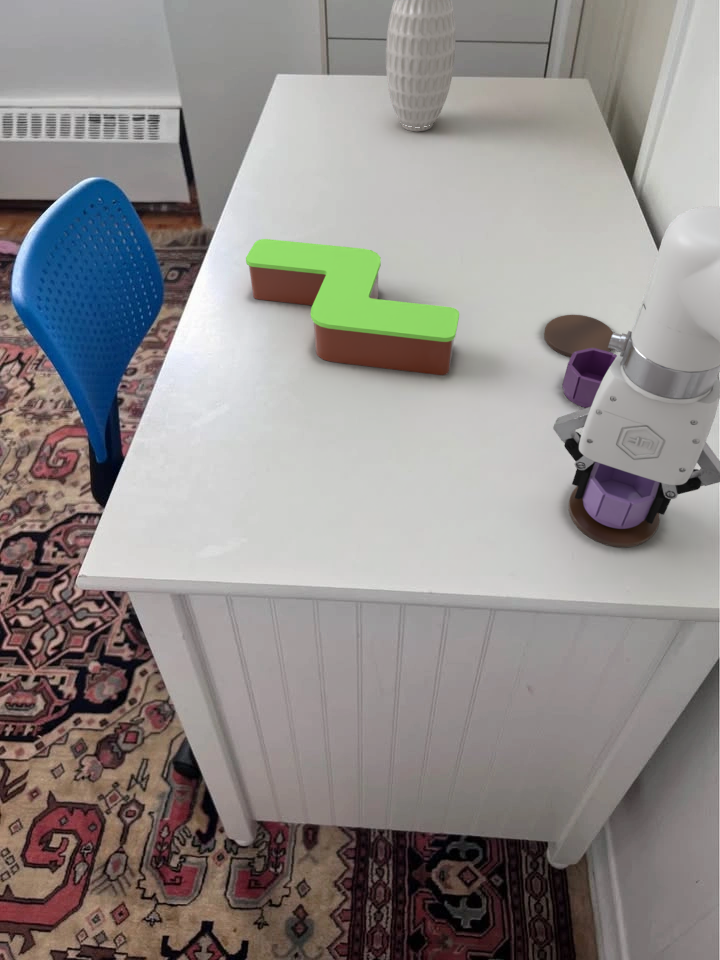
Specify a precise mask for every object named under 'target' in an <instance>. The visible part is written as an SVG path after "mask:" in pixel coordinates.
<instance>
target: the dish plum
mask: <svg viewBox="0 0 720 960" xmlns="http://www.w3.org/2000/svg"><path fill="white" fill-rule="evenodd" d="M617 356H618V354H616V353H614V352H611V351H610V352H608V351H604V350H600V349H597V348H594V349H593V348H588V349H584V350H580V351H575V352H574V353H573V354H572V356H571V357H569V360H568V362H567V364H566V365H567V366H566V369H565V373H564V377H563V381H562V383H561V387H562V391H563V394H564V396H565V397H566V398H567V399H568V400H569V401H570V402H572V403H573V404H575V405H577V406H579V407H582V408H584V409H585V408H588V407H591V406H592V403H593V401H594V398H595V395H596V393H597V391H598V389H599V386H600V384H601V382H602V380H603V378H604V376H605V374H606V372H607V371H608V369H609V367H610V366H611V364H612V363H613V361H614V360H615V358H616V357H617Z"/></svg>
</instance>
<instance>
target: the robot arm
mask: <svg viewBox="0 0 720 960" xmlns="http://www.w3.org/2000/svg"><path fill="white" fill-rule="evenodd" d="M655 257H656V258H655V259H654V260H655V261H654V264H653V266H652V269H651V272H650V276H649V279H648V281H647V285H646V288H645V290H644V293H643V297H642V300H641V302H640V305H639V308H638V312H637V315H636V318H635V321H634V324H633V327H632V329H631V331H630V330H628V332H627V333H624V332H622V334H621V333H617V332H613V331H612V332H613V334H612V337H611V340H610V342H609V346H608V348H612V349H611V350H615V352H617V353H619V354H617V357H616V358H615V360H614V361H613V363H612V364H611V366H610V367H609V369H608V371H607V372H606V374H605V376H604V378H603V380H602V382H601V384H600V386H599V389H598V391H597V393H596V395H595V398H594V401H593V403H592V406H591V407H588V408H585V407H584V408H582V409H580V410H576V411H574V412H571V413H568V414H565V415H561V416H559V417H557V418H556V420H555V422H554V425H553V430H554V432H555V433H556V435H557V436H558V438H559V439H560V441H561V442H563V443H564V449H565V450H566V451H567V452H568V454H569V455H570V456H571V457H572V459H573V460H574V461H575V462H574V467H575V468H576V470H575V473H574V476H573V479H572V482H571V485H573V486H575V487H577V486H578V489H577V492H576V495H575V498H576V499H580V498H581V499H582V497H583V494H584V491H585V488H586V486H587V483H588V480H589V477H590V474H591V471H592V469H593V466H594V464H595V462H598V463H601V464H604V465H607V466H610V467H613V468H616V469H619V470H622V471H625V472H629V473H632V474H635V475H638V476H641V477H644V478H648V479H651V480H654V481H657V482H660V483H659V487H658V490H657V493H656V497H655V499H654V501H653V504H652V506H651V508H650V510H649V512H648V515H647V517H646V519H645V520H646V521H647V523H650V524H652V523H653V521H654V519H655V516H656V514H657V513H659V515H662V516H664V515H665V513H666V511H667V509H668V506H669V505H670V503H671V501H672V500H675V499H677V498H678V495H681V494H686V493H689V492H694V491H697V490H700V488H701V487H707V486H712V485H715V484H719V483H720V459H719V458H718V456H717V455H716V453H715V452H714V451H713V450H712V448H711V447H710V446H709V444H708V443H707V440H708V437H709V434H710V433H711V430H712V426H713V424H714V420H715V418H716V414H717V412H718V411H717V410H718V407H719V401H720V379H719V374H720V206H715V205H706V206H705V205H704V206H698V207H695V208H694V207H693V208H691V209H688V210H685V211H683V212H681V213H680V214H678V215H677V216H675V218H674V219H673V220H672V221H671V222H670V223H669V225H668V226H667V228H666V230H665V232H664V234H663V237H662V240H661V243H660V246H659V249H658V251H657V255H656V256H655ZM579 429H582V430H581V431H582V432H581V434H580V432H578V431H576V430H579ZM697 465H698V467H700V468H699V469H698V468H696V466H697Z"/></svg>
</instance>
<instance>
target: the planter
mask: <svg viewBox="0 0 720 960" xmlns="http://www.w3.org/2000/svg"><path fill="white" fill-rule="evenodd" d="M381 261H382V260H381V256H380V255H379V253H378V252H376V251H373V250H372V249H368V248H361V247H350V246H340V245H331V244H321V243H320V244H319V243H311V242H300V241H291V240H290V241H289V240H279V239H271V238H261V239H258V240H256V241H255V242H254V243H253V245H252V246H251V248H250V250H249V252H248V253H247V254H246V257H245V262H246V265H247V266H248V268H249V276H250V283H251V291H252V297H253V298H254V299H255V300H260V301H269V302H270V301H271V302H278V303H287V304H297V305H306V306H311V308H310V319H311V320H312V323H313V331H314V334H313V335H314V347H315V349H314V350H315V353H316V355H317V357H318V358H320V359H322V360H324V361H327V362H330V363H337V364H346V365H354V366H364V367H371V368H377V369H378V368H379V369H386V370H387V369H388V370H393V371H394V370H395V371H396V370H397V371H404V372H412V373H420V374H428V375H435V376H445V375H448V374H449V373H450V369H451V365H452V364H451V363H452V359H453V354H454V344H455V338H456V334H457V330H458V324H459V319H460V311H459V310H458V309H457V308H455V307H452V306H444V305H434V304H425V303H416V302H408V301H407V302H406V301H400V300H399V301H398V300H388V299H380V298H379V272H380V269H381V263H382V262H381Z"/></svg>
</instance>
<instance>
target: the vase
mask: <svg viewBox="0 0 720 960" xmlns="http://www.w3.org/2000/svg"><path fill="white" fill-rule="evenodd" d="M454 10H455V9H454V5H453V0H393V3H392V6H391V9H390V14H389V19H388V25H387V32H386V44H385V69H386V70H385V71H386V81H387V88H388V92H389V98H390V101H391V104H392V107H393V111H394V113H395V115H396V117H397V119H398V121H399V123H400V122H401V123H402V124H401V123H400V125H401V127H402V128H403V129H404V130H407V131H410V132H425V131H428V130H430V129H431V128H433V126H434V124H435V123H436V122H437V120H438V118H439V117H440V115H441V112H442V110H443V107H444V105H445V104H446V101H447V98H448V95H449V92H450V89H451V85H452V80H453V75H454V74H453V73H454V66H455V57H456V41H457V40H456V39H457V37H456V36H457V33H456V29H457V28H456V18H455V12H454ZM434 122H435V123H434ZM433 123H434V124H433ZM403 124H404V125H403ZM405 125H407V126H405ZM429 125H430V126H429ZM408 126H412V127H408ZM424 126H427V127H424ZM415 127H420V128H415Z"/></svg>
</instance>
